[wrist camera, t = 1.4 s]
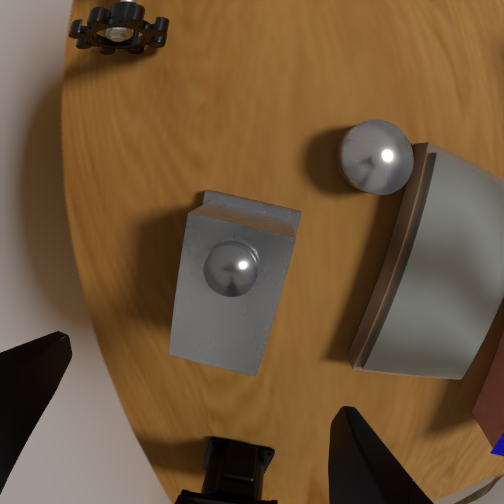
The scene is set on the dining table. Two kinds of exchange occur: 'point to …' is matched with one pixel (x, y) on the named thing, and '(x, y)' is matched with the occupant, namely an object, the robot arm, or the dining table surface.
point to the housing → (231, 280)
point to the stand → (436, 272)
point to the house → (493, 403)
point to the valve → (120, 29)
